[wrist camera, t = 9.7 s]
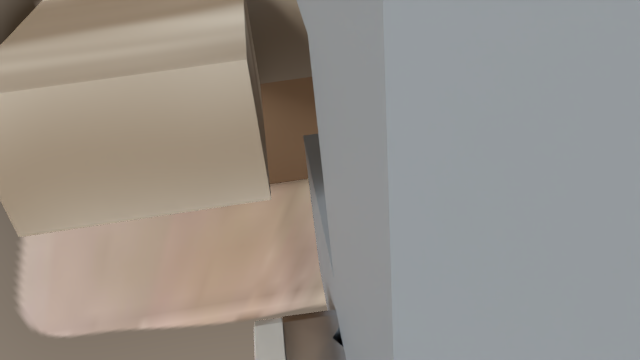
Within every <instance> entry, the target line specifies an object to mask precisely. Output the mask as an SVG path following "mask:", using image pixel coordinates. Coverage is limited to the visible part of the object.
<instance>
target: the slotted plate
mask: <svg viewBox="0 0 640 360" xmlns="http://www.w3.org/2000/svg"><path fill="white" fill-rule="evenodd" d="M297 3H298V6H299V9H300V12H301V15H302V19H303V22H304V25H305V28H306V31H307V34H308V42H309V51H310V60H311V69H312V79H313V88H314V97H315V107H316V116H317V125H318V134H311V135H304V136H303V138H304V146H305V154H306V162H307V170H308V178H309V186H310V194H311V202H312V210H313V218H314V226H315V234H316V242H317V250H318V258H319V266H320V272H321V277H322V282H323V287H324V293H325V298H326V303H327V308H328V311H329V310H336V313H337V317H338V322H339V327H340V337H341V345H342V346H343V347H344V351H345V356H346V360H640V0H297Z"/></svg>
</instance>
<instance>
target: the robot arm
mask: <svg viewBox="0 0 640 360" xmlns="http://www.w3.org/2000/svg"><path fill="white" fill-rule="evenodd" d="M254 350H255V360H346V356H345V351H344V347H343V346H342V345H341V337H340V327H339V322H338V317H337V313H336V310H329V311H322V312H314V313H307V314H299V315H292V316H285V317H283V318H282V317H281V318H273V319H266V320H259V321H255V324H254Z"/></svg>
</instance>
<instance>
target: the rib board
mask: <svg viewBox="0 0 640 360" xmlns="http://www.w3.org/2000/svg"><path fill="white" fill-rule="evenodd" d="M311 134H318V125H317V116H316V107H315V97H314V88H313V79H312V69H311V60H310V51H309V42H308V34H307V31H306V28H305V25H304V22H303V19H302V15H301V12H300V9H299V6H298V3H297V0H42V2H41V3H40V4H39V5H38V6H37V7H36V8H35V9H34V10H33V11H32V12H31V13H30V14H29V16H27V18H26V19H25V20H24V21H23V22H22V23H21V24H20V25H19V26H18V27H17V28H16V29H15V30H14V31H13V33H12V34H11V35H10V36H9V37H8V38H7V39H6V40H5V41H4V42H3V43H2V44H1V45H0V201H1V203H2V205H3V207H4V209H5V210H6V213H7V215H8V217H9V218H10V220H11V222H12V224H13V226H14V228H15V230H16V232H17V234H18V236H19V237H24V236H31V235H38V234H44V233H51V232H58V231H64V230H71V229H78V228H84V227H91V226H98V225H104V224H111V223H118V222H124V221H131V220H138V219H144V218H151V217H158V216H164V215H171V214H178V213H184V212H191V211H198V210H204V209H211V208H218V207H224V206H231V205H238V204H244V203H251V202H258V201H264V200H271V192H270V184H274V183H281V182H288V181H294V180H301V179H308V170H307V162H306V154H305V146H304V138H303V136H304V135H311Z"/></svg>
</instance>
